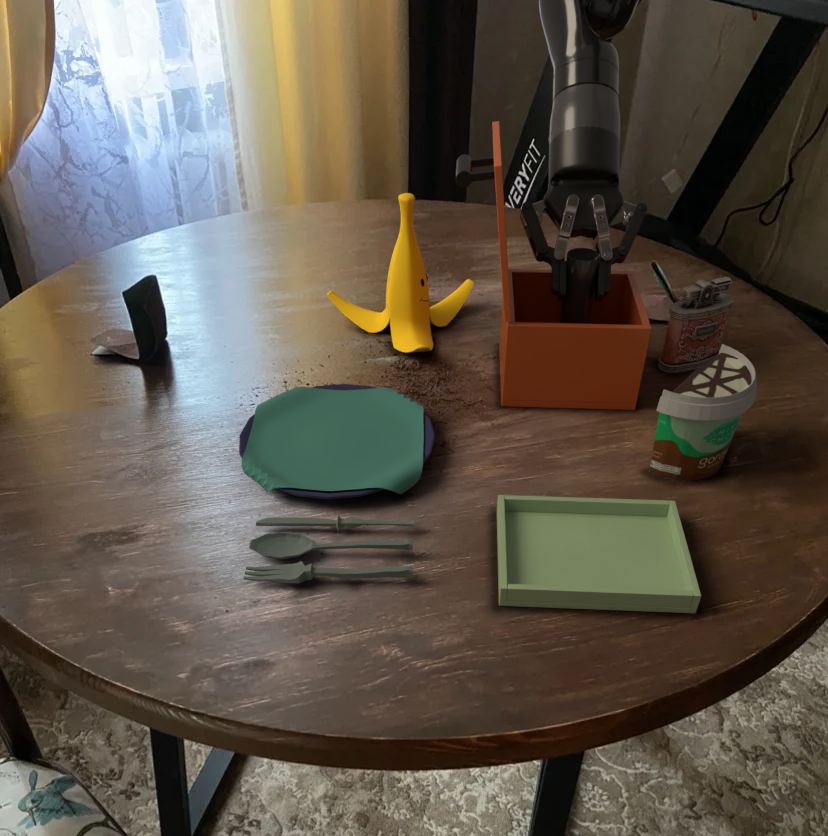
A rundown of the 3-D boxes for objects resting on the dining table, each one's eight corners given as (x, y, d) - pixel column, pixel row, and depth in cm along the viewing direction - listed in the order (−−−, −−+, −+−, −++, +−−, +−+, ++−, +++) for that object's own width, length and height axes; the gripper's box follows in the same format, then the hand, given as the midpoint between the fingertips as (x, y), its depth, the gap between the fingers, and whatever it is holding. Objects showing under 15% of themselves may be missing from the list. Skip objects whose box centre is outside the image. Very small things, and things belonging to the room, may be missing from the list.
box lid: (499, 120, 86) (455, 126, 86) (501, 165, 75) (452, 171, 76) (507, 264, 96) (468, 268, 96) (511, 321, 85) (467, 325, 86)
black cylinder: (585, 340, 97) (597, 247, 90) (587, 355, 94) (601, 261, 87) (555, 340, 97) (565, 247, 90) (557, 354, 94) (568, 260, 87)
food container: (697, 505, 79) (723, 417, 73) (640, 479, 82) (660, 391, 76) (756, 449, 86) (784, 363, 79) (701, 426, 89) (724, 341, 83)
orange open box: (619, 348, 102) (633, 271, 95) (635, 410, 92) (651, 328, 85) (499, 345, 102) (504, 268, 96) (501, 406, 92) (507, 325, 86)
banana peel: (474, 303, 111) (480, 172, 100) (426, 374, 97) (427, 232, 86) (359, 285, 115) (352, 157, 104) (298, 350, 102) (283, 212, 91)
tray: (670, 517, 78) (675, 500, 77) (695, 613, 69) (701, 595, 68) (496, 511, 79) (497, 494, 77) (498, 606, 70) (500, 588, 68)
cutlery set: (434, 398, 94) (434, 380, 92) (435, 590, 71) (436, 570, 70) (257, 397, 94) (254, 380, 92) (202, 588, 71) (197, 568, 70)
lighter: (669, 375, 97) (687, 294, 90) (651, 362, 99) (668, 282, 93) (724, 361, 99) (746, 281, 93) (706, 348, 102) (726, 269, 95)
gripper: (521, 123, 87) (516, 285, 86) (658, 124, 86) (655, 287, 85) (516, 159, 95) (511, 309, 94) (642, 160, 94) (639, 311, 93)
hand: (580, 298), depth 90 cm, fingers closed on black cylinder, 3 cm apart
